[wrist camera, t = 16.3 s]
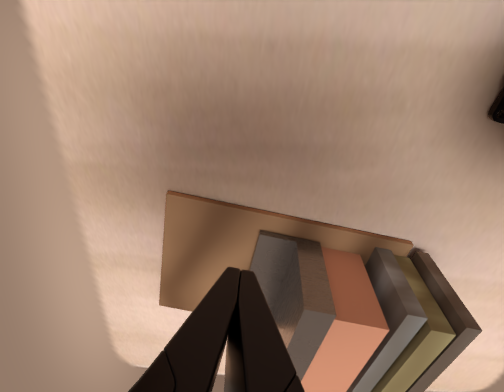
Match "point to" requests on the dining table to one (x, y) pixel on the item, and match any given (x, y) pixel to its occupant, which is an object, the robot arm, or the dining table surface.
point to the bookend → (295, 293)
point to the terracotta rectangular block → (346, 325)
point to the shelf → (334, 237)
